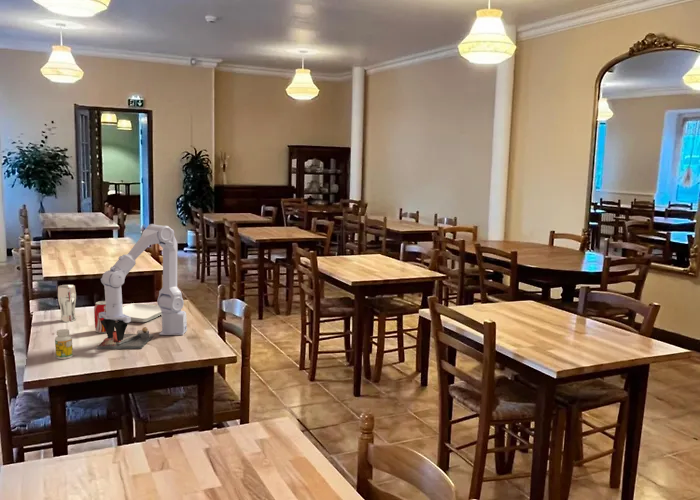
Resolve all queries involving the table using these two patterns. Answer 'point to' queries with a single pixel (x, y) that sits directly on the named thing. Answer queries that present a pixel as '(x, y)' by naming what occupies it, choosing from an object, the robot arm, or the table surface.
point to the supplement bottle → (63, 344)
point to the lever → (126, 337)
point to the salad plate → (141, 312)
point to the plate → (132, 344)
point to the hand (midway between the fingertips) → (115, 338)
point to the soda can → (98, 308)
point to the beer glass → (67, 302)
